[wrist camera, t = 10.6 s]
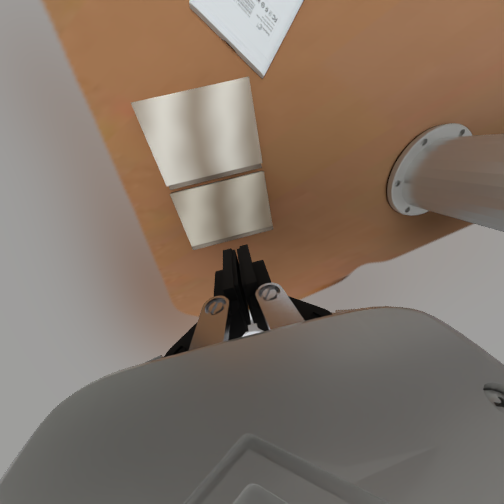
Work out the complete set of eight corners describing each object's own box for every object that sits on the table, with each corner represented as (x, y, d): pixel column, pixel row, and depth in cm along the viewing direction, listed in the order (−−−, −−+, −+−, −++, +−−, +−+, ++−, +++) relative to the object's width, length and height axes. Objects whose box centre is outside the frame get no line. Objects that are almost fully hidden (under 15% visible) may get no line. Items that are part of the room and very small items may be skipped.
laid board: (247, 80, 19) (248, 76, 18) (261, 167, 24) (263, 168, 23) (135, 105, 19) (130, 102, 18) (170, 189, 23) (168, 191, 22)
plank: (261, 170, 24) (264, 171, 23) (271, 226, 28) (273, 229, 26) (172, 192, 23) (169, 194, 22) (194, 246, 27) (193, 250, 26)
